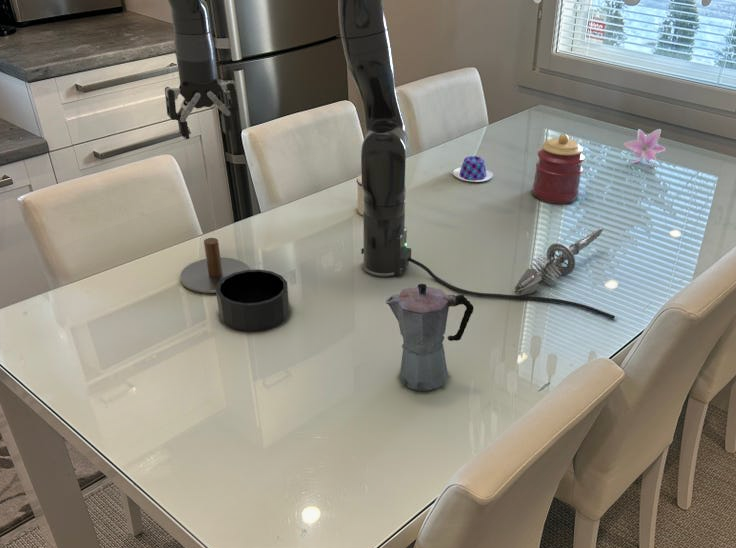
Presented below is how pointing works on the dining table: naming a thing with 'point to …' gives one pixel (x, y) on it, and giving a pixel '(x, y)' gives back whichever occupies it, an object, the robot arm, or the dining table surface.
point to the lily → (646, 145)
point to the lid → (210, 269)
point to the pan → (253, 300)
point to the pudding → (473, 170)
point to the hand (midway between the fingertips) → (206, 135)
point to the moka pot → (425, 333)
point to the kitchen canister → (558, 170)
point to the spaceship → (553, 264)
